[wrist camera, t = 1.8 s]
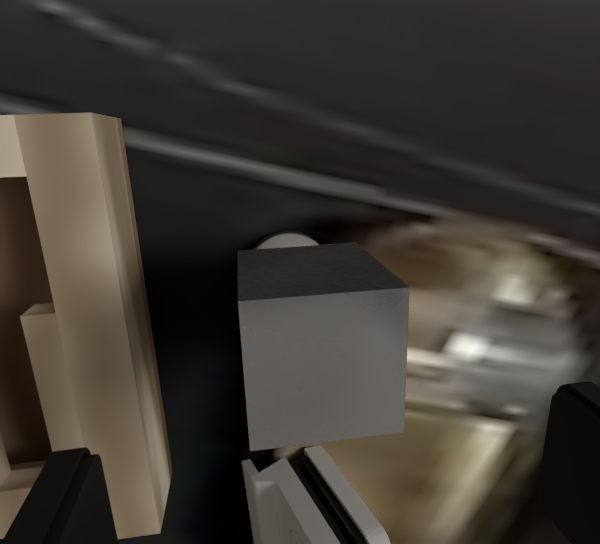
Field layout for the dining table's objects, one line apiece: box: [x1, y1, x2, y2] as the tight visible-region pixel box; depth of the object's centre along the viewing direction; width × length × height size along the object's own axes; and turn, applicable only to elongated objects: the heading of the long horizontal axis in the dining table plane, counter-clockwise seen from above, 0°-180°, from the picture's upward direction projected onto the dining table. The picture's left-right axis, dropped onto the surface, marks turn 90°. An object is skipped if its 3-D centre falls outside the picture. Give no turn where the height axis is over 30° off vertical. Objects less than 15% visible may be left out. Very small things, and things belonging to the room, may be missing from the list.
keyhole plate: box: [0, 113, 172, 539], centre depth 21 cm, size 11×20×4 cm, turn 2°
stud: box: [238, 230, 409, 451], centre depth 18 cm, size 5×5×11 cm
